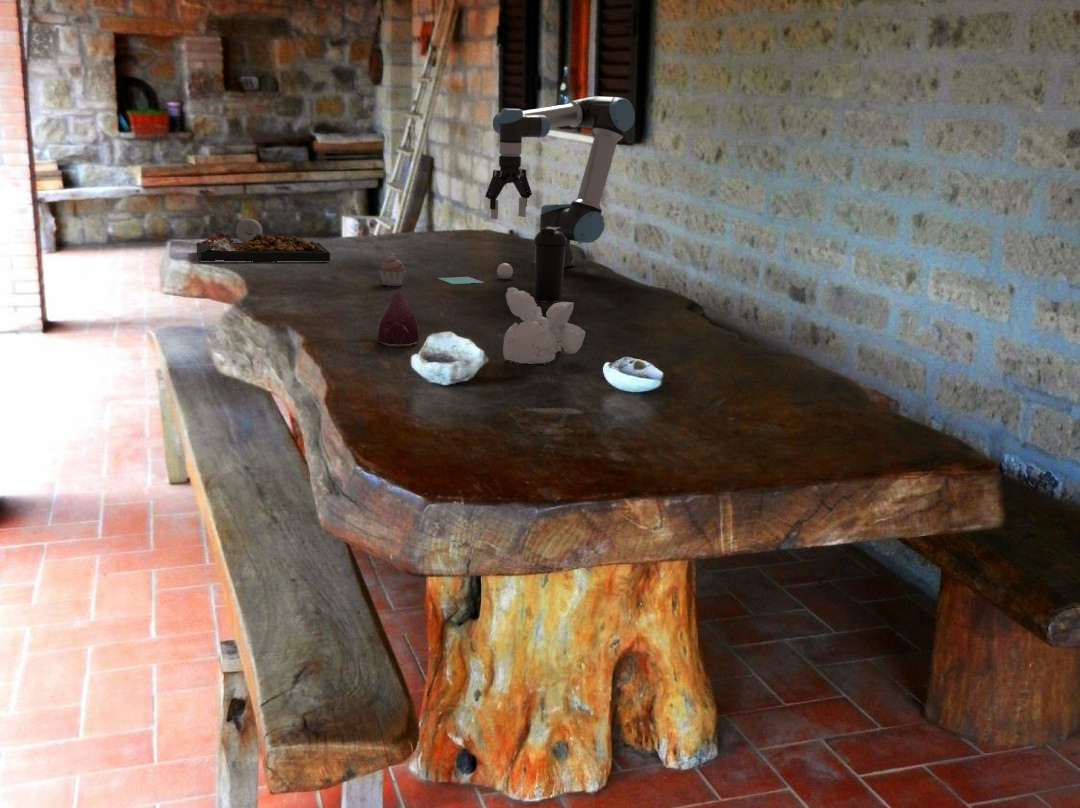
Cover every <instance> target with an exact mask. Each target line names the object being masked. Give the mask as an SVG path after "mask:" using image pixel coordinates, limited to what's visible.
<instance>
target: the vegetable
mask: <svg viewBox="0 0 1080 808" xmlns="http://www.w3.org/2000/svg"><path fill="white" fill-rule="evenodd" d="M419 338H420V337H419V329H418V325H417V321H416V319H415V314H414V312H413V310H412V308H411V307H410V304H409V303H408V302H407V300H406V298H405V297H404V295H403V293H402V292H401V291H400V289H397V290H396V291H395V292H394V293H393V295H392V298H391V301H390V304H389V307H388V308H387V309H386V311H385V313H384V315H383V317H382V318H381V320H380V324H379V328H378V337H377V341H378V340H379V341H380V342H383V343H388V344H398V345H399V344H410V343H414V342H417V341H418V342H419Z"/></svg>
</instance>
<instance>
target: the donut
mask: <svg viewBox="0 0 1080 808" xmlns="http://www.w3.org/2000/svg"><path fill="white" fill-rule="evenodd" d="M247 228H252V230H253V231H252V232H253V233H252V234H250V235H248V234H247V233H246V229H247ZM235 234H236V236H237V238H238V240H240V242H241V243H245V242H246V241H248V240H251V239H253V238H254V236H255V235H256V236H257V234H263V228H262V225H261V224H260V223H259V221H257V220H256V219H254V218H244V219H241V220H240V221H239V222H238V223H237V226H236V229H235Z"/></svg>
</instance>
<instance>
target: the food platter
mask: <svg viewBox="0 0 1080 808" xmlns="http://www.w3.org/2000/svg"><path fill="white" fill-rule="evenodd" d="M214 230H215V233H216V234H215V233H214V232H213V231H212V232H211V233H212V235H211V236H207V239H205V240H203V241H201V242H196V254H197V253H198V254H197V256H198V255H199V257H198V259H199V258H200V259H199V261H200V260H201V261H215V260H224V261H251V262H252V261H253V262H273V261H274V262H277V261H330V262H331V253H330V251H329V250H328V249H327V248H326V247H324V246H323V245H322V244H321V243H320V242H315V241H308V240H306V239H305V240H304V239H302V238H298V237H297V236H296V235H291V236H288V235H287V234H284V235H279V234H277V233H273V234H272V235H271V236H270V235H269V234H264V233H262V234H257V236H256V235H255V236H254V238H253V239H251V240H248V241H246V242H245V243H244V242H238V241H237V240H233V239H231V238H232V236H230V235H229V233H226V234H225V233H224V232H221V231H217V228H216V227H214Z"/></svg>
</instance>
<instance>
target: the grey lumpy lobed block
mask: <svg viewBox="0 0 1080 808" xmlns="http://www.w3.org/2000/svg"><path fill="white" fill-rule="evenodd" d="M505 298H506V304H507V306H508V309H510V312H511V313H512V314H513V315H514V316H515V317H518V318H520V320H521V321H522V322H520V323H519V324H518V323H517V322H514V323H513V324H512V325H511V326H509V328H508V329H507V330H506V331H505V334H504V338H503V346H502V352H503V353H502V354H503V358H504V360H505V359H506V360H511V361H515V362H519V363H528V364H534V363H546V362H550V361H552V360H553V361H554V360H555V358H556V355H555V353H556V352H558V351H561V352H562V348H563V351H564V353H566V354H570V355H573V354H576V353H577V352H578V351H579V350H580V349H581V347H582V346H583V342H584V339H585V337H586V331H585V330H584V329H583V328H581V327H580V326H578V325H575V324H573V323H569V322H568V321H569V320H570V317H571V315H572V313H573V310H574V305H575V302H573V301H572V302H568V301H561V302H557V303H552V305H551V306H549V308H548V309H547V311H546V313H545V314H546V317H545V316H543V313H542V308H541V307H540V306H538V304H537V303H536V301H535V300H534V297H533V296H531V294H530V293H529V292H527V291H525V290H519V289H518V288H516V287H515V286H514V287H513V286H511V287H508V288H507V292H506V293H505ZM553 361H552V362H553Z"/></svg>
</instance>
